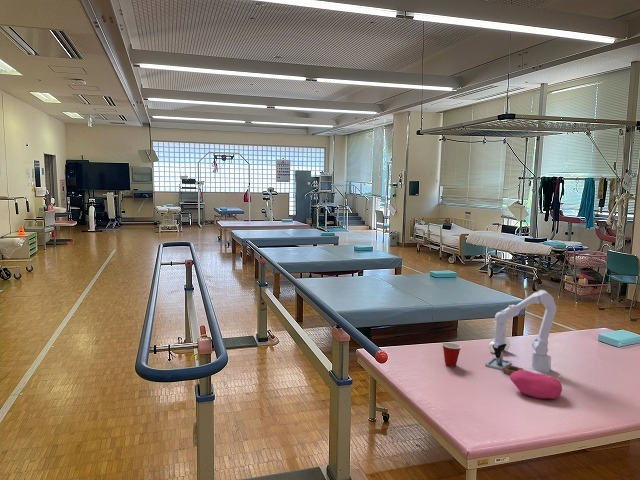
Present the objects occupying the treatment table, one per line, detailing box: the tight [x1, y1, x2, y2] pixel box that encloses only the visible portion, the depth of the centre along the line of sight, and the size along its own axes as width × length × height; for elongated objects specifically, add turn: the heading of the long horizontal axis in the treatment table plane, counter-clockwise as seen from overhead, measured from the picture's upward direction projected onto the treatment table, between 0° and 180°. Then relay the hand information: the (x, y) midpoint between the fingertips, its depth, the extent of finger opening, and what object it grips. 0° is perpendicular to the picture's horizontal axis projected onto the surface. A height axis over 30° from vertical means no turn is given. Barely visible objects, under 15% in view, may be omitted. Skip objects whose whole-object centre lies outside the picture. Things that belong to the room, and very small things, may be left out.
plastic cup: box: [441, 342, 462, 368], centre depth 263 cm, size 11×11×12 cm
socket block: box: [502, 364, 524, 376], centre depth 252 cm, size 8×8×3 cm
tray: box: [485, 357, 512, 371], centre depth 263 cm, size 10×14×2 cm
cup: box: [487, 337, 511, 354], centre depth 286 cm, size 10×10×11 cm
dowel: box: [495, 351, 504, 366], centre depth 263 cm, size 3×3×8 cm
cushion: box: [509, 369, 563, 400], centre depth 227 cm, size 23×19×10 cm
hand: (498, 356), depth 263 cm, fingers closed on dowel, 3 cm apart
